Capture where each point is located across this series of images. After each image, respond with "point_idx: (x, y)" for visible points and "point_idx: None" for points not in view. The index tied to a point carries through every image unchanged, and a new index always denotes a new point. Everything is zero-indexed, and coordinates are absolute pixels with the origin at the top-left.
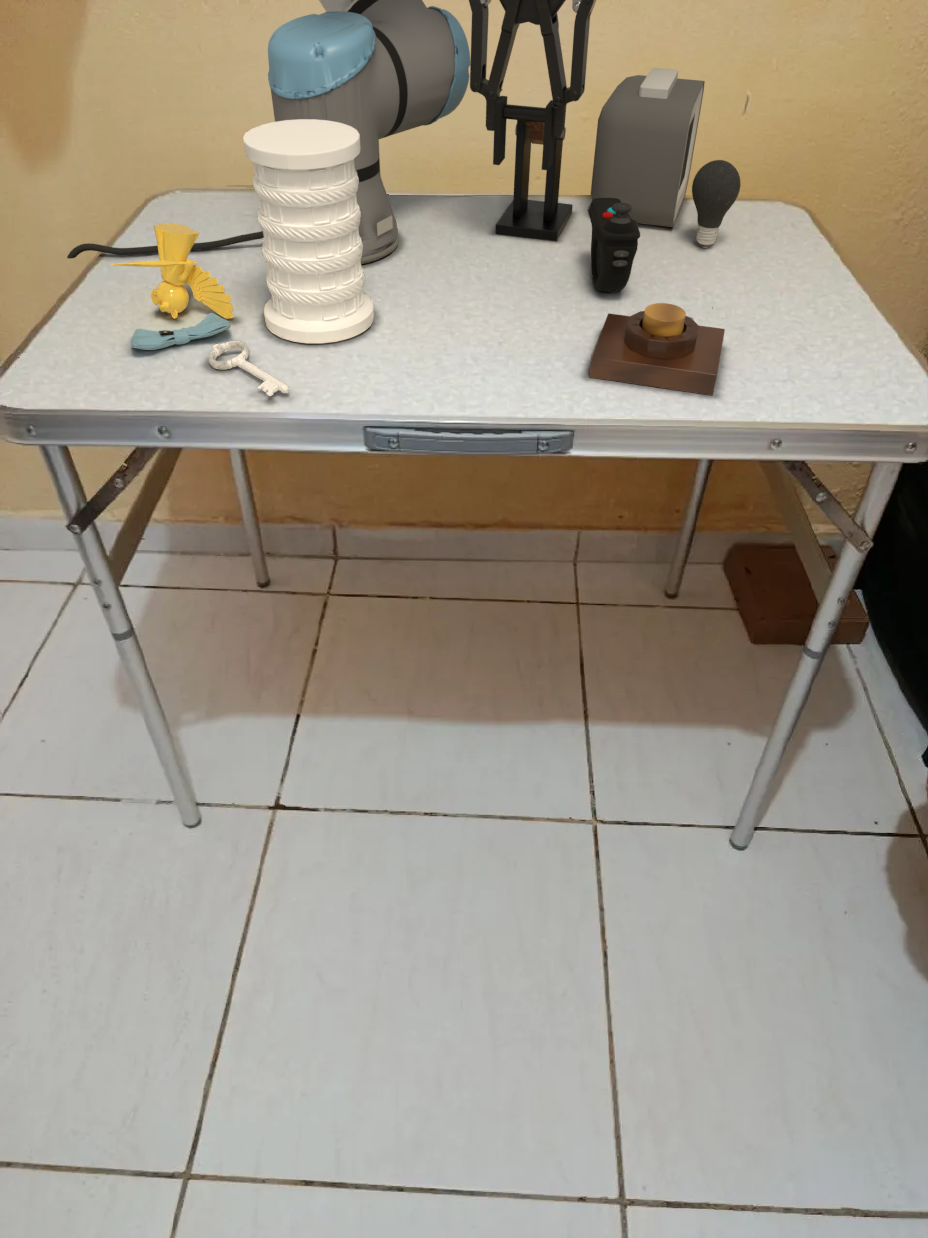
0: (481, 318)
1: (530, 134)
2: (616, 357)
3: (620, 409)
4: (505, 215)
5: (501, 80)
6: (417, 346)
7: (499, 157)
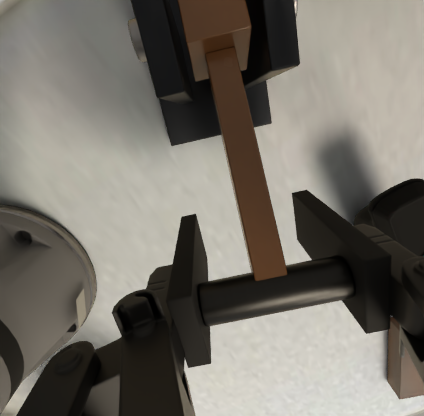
0: (267, 344)
1: (198, 73)
2: (420, 392)
3: (417, 402)
4: (165, 100)
5: (188, 400)
6: (239, 401)
7: (207, 266)
